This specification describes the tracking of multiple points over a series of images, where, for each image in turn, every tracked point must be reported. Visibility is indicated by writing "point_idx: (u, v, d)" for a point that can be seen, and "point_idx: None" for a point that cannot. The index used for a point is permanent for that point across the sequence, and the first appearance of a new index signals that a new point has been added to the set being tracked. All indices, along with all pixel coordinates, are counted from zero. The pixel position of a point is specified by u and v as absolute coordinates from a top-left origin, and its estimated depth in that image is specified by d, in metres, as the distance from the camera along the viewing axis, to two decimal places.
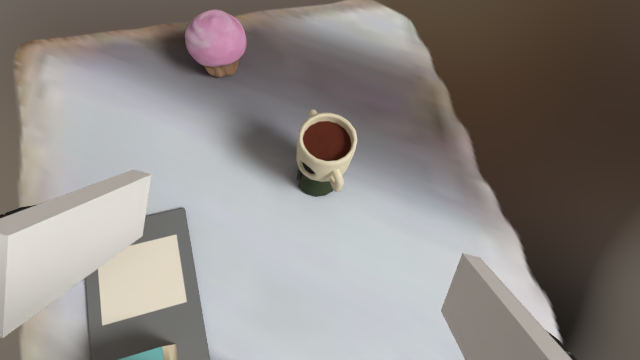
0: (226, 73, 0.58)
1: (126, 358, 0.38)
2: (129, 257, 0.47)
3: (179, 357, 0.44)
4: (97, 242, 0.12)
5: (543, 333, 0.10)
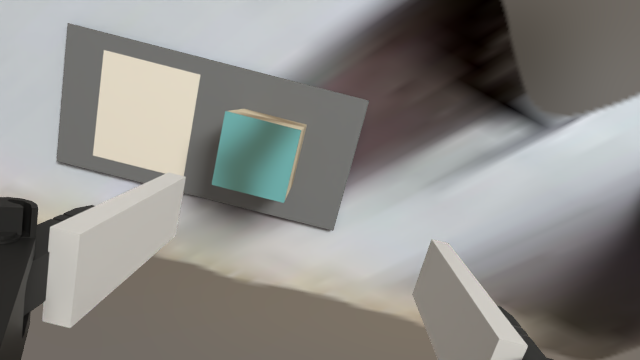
0: None
1: (218, 155, 0.29)
2: (112, 120, 0.34)
3: (261, 110, 0.34)
4: (142, 241, 0.13)
5: (493, 307, 0.11)
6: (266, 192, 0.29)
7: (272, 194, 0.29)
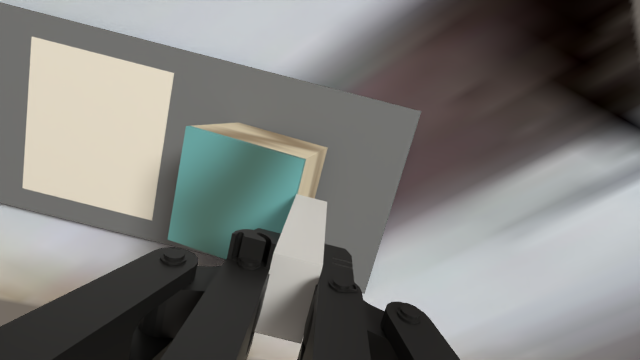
0: None
1: (177, 194, 0.18)
2: (48, 138, 0.24)
3: (263, 125, 0.23)
4: None
5: (319, 242, 0.12)
6: None
7: None
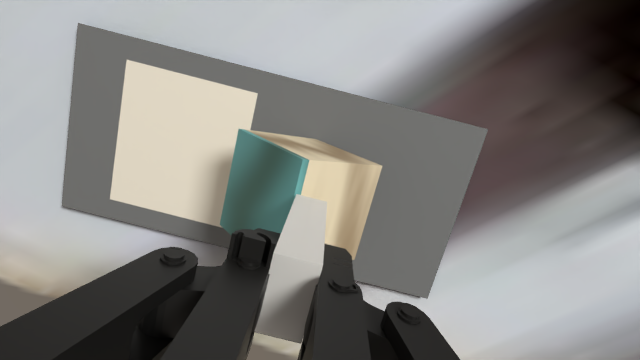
0: None
1: (228, 186, 0.21)
2: (137, 153, 0.26)
3: (338, 142, 0.25)
4: None
5: (319, 242, 0.12)
6: None
7: None
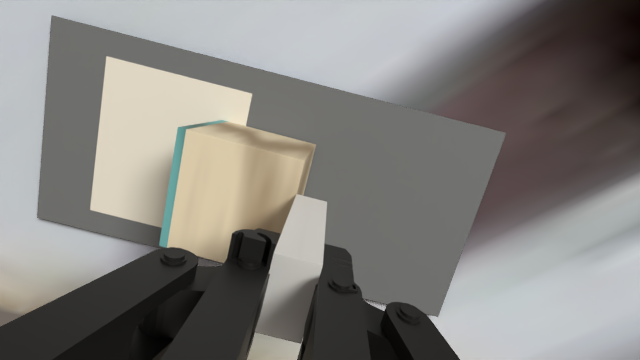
0: None
1: None
2: (119, 160, 0.23)
3: (342, 147, 0.23)
4: None
5: (319, 242, 0.12)
6: None
7: None
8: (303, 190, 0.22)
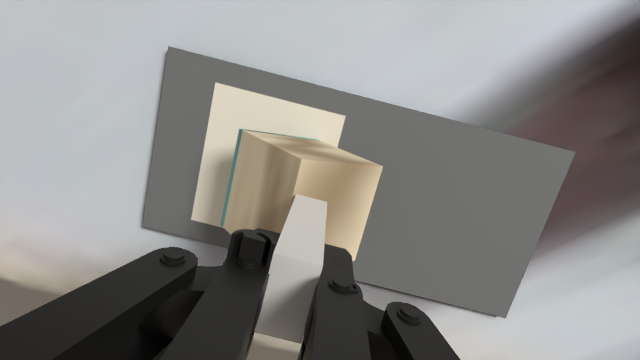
0: None
1: None
2: (220, 174, 0.26)
3: (424, 164, 0.25)
4: None
5: (319, 242, 0.12)
6: None
7: None
8: (355, 210, 0.20)
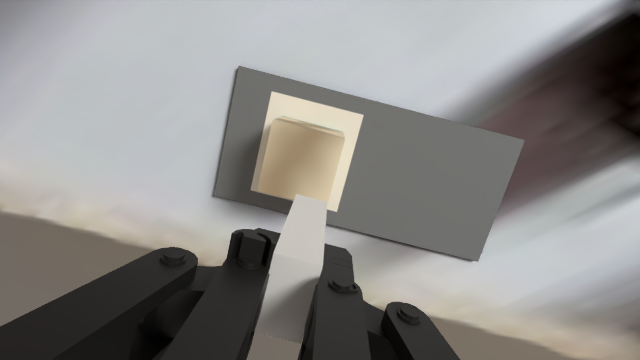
0: None
1: None
2: None
3: (419, 149, 0.35)
4: None
5: (319, 242, 0.12)
6: None
7: None
8: (322, 167, 0.30)
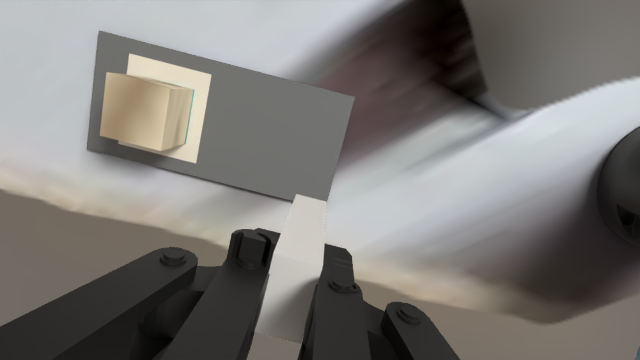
0: None
1: None
2: None
3: (263, 105, 0.39)
4: None
5: (319, 242, 0.12)
6: None
7: None
8: (153, 114, 0.34)
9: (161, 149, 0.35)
